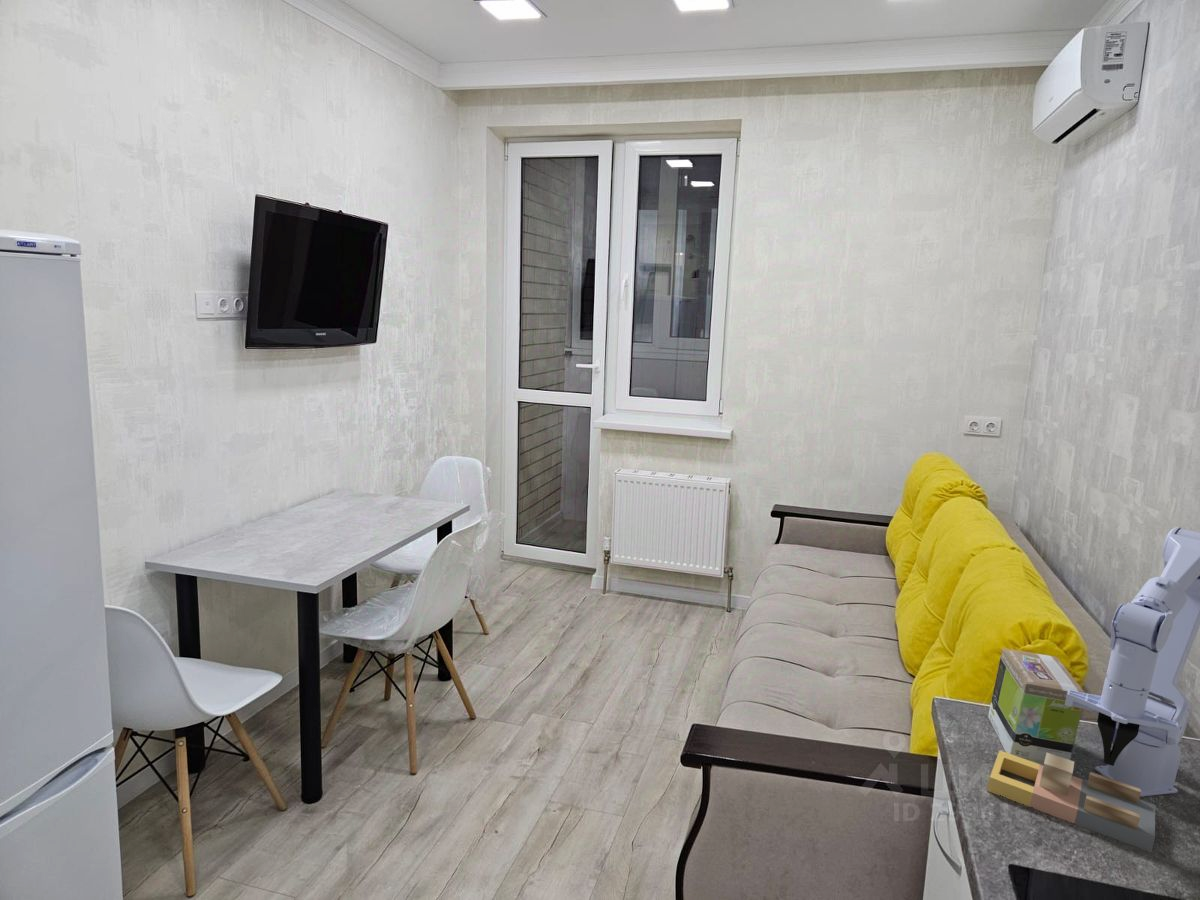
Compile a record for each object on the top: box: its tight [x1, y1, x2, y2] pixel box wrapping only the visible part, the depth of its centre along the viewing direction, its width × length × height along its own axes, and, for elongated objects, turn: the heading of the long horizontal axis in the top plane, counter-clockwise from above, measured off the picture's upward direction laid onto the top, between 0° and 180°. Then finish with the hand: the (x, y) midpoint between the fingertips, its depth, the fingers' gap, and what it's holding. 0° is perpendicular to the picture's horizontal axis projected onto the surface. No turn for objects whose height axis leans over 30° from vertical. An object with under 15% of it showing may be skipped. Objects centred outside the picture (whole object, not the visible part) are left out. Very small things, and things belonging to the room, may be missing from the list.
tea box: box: [987, 648, 1086, 766], centre depth 147 cm, size 15×10×15 cm, turn 168°
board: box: [986, 750, 1156, 853], centre depth 130 cm, size 22×10×2 cm, turn 56°
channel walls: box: [1084, 771, 1141, 829], centre depth 127 cm, size 7×9×2 cm
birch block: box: [1039, 753, 1075, 796], centre depth 131 cm, size 4×4×4 cm
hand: (1108, 761), depth 127 cm, fingers closed
